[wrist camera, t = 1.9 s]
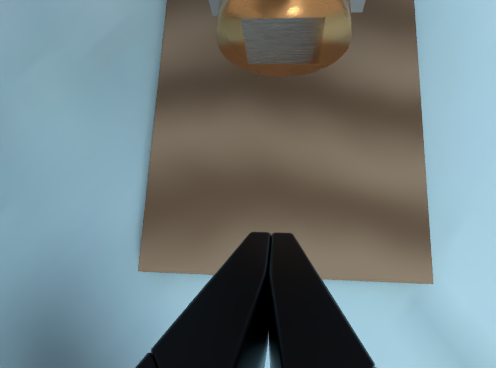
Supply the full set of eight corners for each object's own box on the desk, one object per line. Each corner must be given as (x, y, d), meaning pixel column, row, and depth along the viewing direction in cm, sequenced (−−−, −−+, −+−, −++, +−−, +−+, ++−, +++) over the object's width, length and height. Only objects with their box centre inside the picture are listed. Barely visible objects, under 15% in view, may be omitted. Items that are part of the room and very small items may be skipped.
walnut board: (426, 283, 20) (433, 283, 19) (144, 271, 22) (137, 271, 21) (405, -40, 25) (410, -53, 24) (175, -32, 26) (171, -44, 26)
